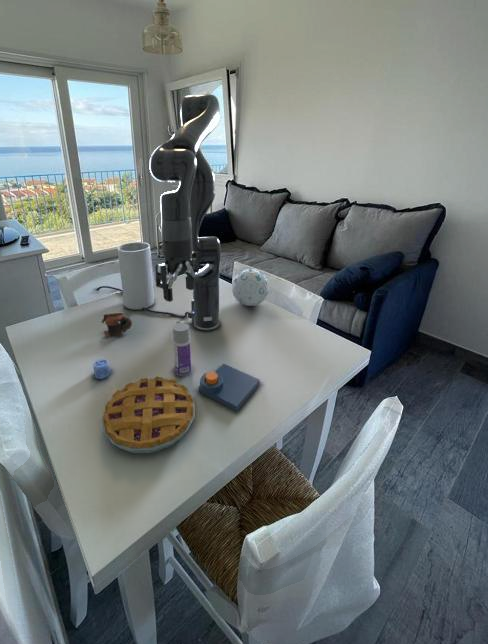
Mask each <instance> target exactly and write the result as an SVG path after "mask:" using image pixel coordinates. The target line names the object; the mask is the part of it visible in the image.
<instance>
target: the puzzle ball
mask: <svg viewBox="0 0 488 644" xmlns="http://www.w3.org/2000/svg"><path fill="white" fill-rule="evenodd" d="M231 291H232V294H233V295H232V296H233V297H234V298H235V299H236V301H237V302H238V303H240V304H241V305H243V306H247V307H254V306H259V305H260V304H261V303H263V302H264V301H265V300H266V299H267V296H268V295H269V291H270V284H269V280H268V278H267V276H265V274H264V273H262V272H261V271H259V270H257V269H254V268H252V269H250V268H247V269H243V270H241V271H239V272H238V273H237V274H236V275H235V277H234V278H233V279H232V282H231Z"/></svg>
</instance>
